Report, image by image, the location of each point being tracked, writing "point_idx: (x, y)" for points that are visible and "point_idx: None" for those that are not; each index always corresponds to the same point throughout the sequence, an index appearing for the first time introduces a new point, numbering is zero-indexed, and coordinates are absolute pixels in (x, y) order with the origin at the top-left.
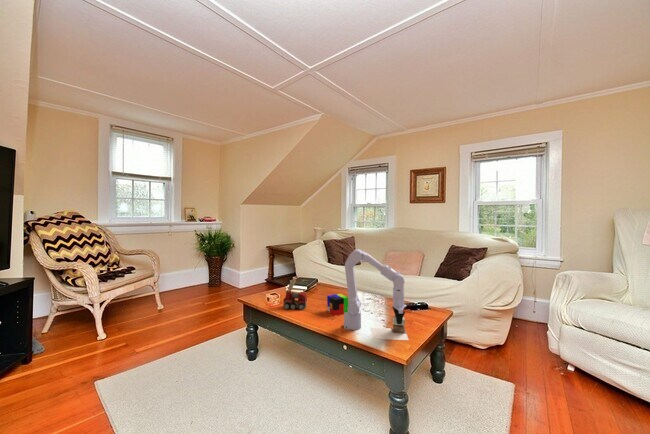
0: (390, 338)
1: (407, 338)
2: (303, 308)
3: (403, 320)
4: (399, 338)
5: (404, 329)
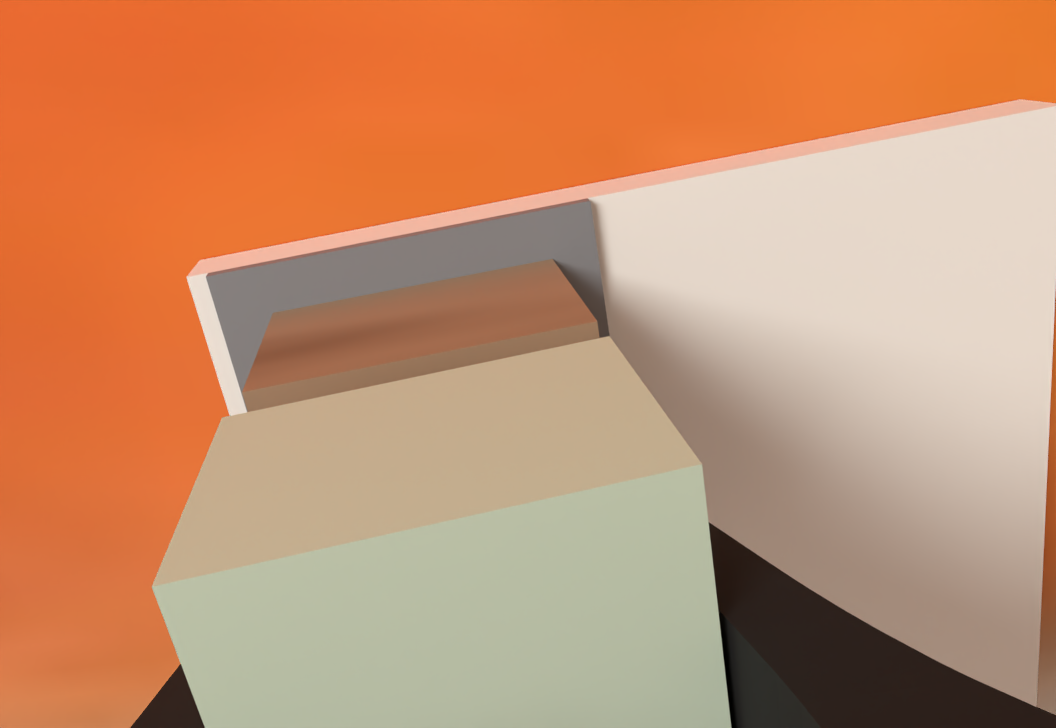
0: (995, 609)
1: (949, 153)
2: None
3: (686, 513)
4: (976, 391)
5: (579, 297)
